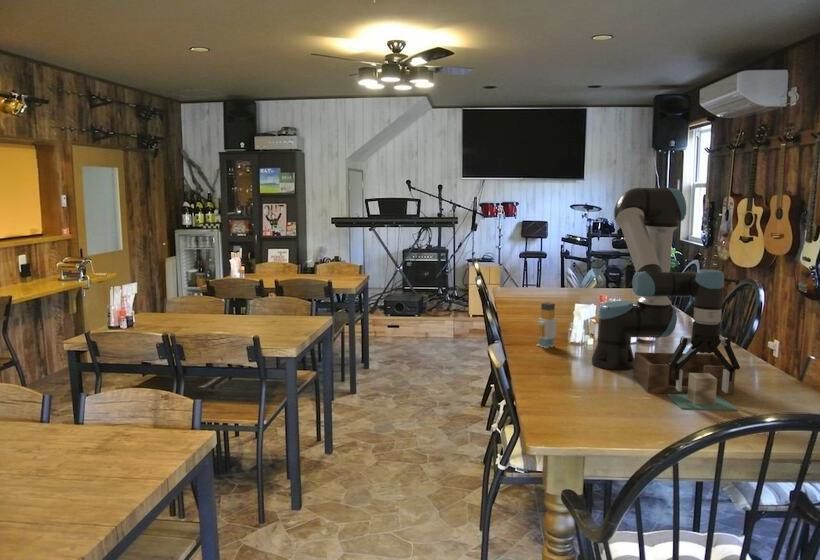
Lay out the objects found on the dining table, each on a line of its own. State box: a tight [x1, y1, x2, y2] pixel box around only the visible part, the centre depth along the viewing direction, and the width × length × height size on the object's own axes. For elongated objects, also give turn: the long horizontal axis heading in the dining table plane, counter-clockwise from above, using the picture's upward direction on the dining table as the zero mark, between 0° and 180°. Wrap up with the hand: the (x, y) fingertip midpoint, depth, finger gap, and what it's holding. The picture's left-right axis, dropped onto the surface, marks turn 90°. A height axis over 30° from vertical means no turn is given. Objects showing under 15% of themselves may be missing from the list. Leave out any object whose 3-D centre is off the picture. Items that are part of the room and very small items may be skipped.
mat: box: [666, 393, 738, 412], centre depth 193 cm, size 16×13×1 cm
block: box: [687, 373, 717, 405], centre depth 192 cm, size 6×6×8 cm
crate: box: [632, 351, 736, 396], centre depth 209 cm, size 26×16×9 cm, turn 86°
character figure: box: [536, 302, 558, 349], centre depth 263 cm, size 8×10×18 cm
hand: (701, 390), depth 193 cm, fingers open, 13 cm apart
